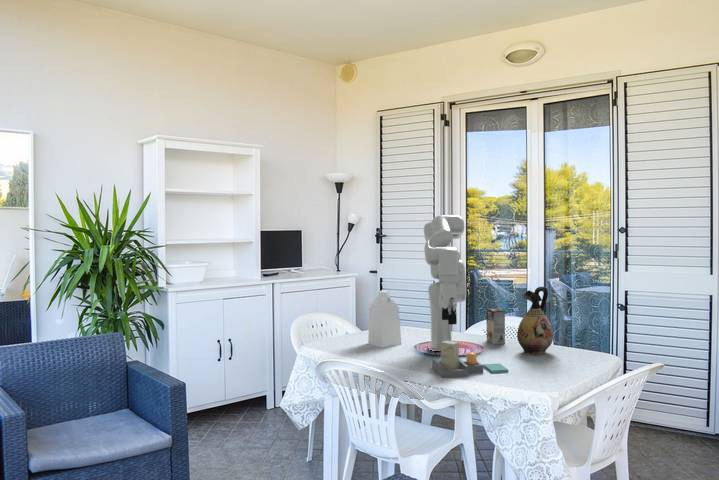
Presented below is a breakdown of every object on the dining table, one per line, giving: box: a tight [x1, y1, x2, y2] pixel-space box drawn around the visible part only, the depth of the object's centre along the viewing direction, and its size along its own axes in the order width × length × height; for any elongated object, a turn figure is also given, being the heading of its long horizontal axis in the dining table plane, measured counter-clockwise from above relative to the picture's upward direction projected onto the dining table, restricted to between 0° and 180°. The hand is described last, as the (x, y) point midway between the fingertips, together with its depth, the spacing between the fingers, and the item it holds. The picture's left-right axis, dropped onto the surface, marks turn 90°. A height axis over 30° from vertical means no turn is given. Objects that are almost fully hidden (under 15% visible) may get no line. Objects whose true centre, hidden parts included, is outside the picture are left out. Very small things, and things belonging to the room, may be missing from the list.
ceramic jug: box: [516, 286, 554, 356], centre depth 260 cm, size 17×15×30 cm
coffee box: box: [485, 307, 506, 345], centre depth 284 cm, size 9×6×16 cm
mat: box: [482, 362, 509, 374], centre depth 235 cm, size 10×7×1 cm
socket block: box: [431, 357, 484, 379], centre depth 233 cm, size 15×18×4 cm
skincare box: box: [440, 340, 460, 370], centre depth 232 cm, size 6×4×12 cm
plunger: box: [465, 352, 478, 365], centre depth 234 cm, size 4×4×6 cm
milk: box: [367, 290, 402, 349], centre depth 286 cm, size 12×12×26 cm
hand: (449, 322), depth 232 cm, fingers open, 9 cm apart
